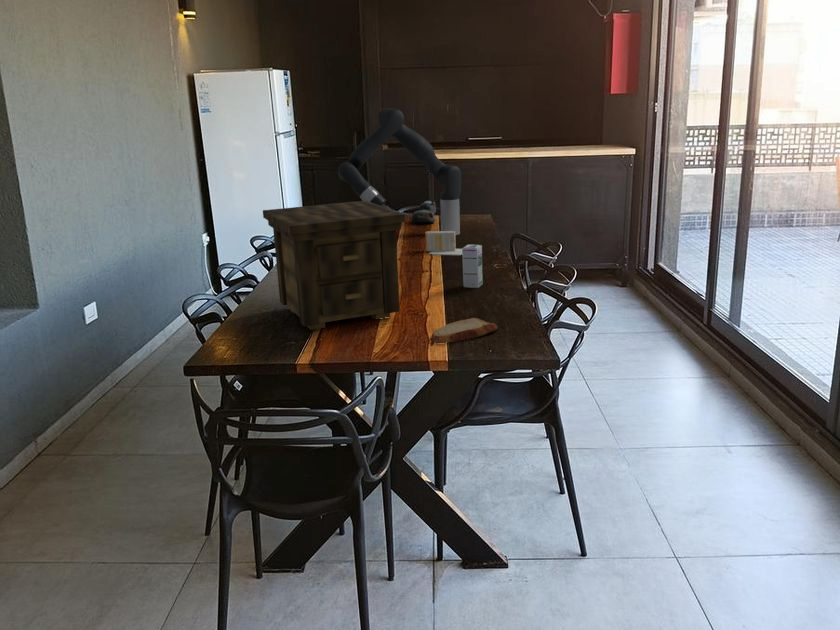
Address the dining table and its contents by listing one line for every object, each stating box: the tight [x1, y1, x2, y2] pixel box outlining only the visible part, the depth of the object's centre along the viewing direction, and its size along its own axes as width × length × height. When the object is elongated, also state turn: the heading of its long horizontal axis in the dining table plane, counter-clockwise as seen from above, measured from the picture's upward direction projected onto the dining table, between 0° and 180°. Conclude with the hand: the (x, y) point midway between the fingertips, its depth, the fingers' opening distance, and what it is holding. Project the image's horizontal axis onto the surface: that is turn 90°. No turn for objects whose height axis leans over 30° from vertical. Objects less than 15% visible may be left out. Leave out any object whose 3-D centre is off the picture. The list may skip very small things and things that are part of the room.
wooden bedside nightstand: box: [262, 200, 407, 331], centre depth 230 cm, size 35×35×33 cm
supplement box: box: [424, 230, 457, 252], centre depth 320 cm, size 8×5×13 cm
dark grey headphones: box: [409, 200, 437, 224], centre depth 391 cm, size 15×12×14 cm
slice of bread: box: [430, 317, 498, 344], centre depth 210 cm, size 18×18×4 cm
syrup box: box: [461, 244, 484, 289], centre depth 260 cm, size 6×6×14 cm
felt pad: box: [428, 248, 462, 256], centre depth 318 cm, size 12×18×1 cm, turn 75°
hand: (400, 227), depth 320 cm, fingers closed
